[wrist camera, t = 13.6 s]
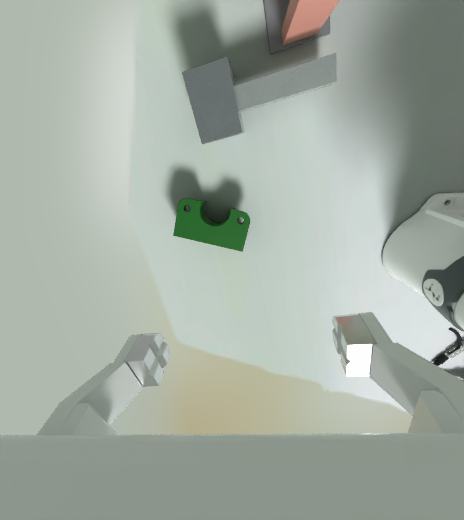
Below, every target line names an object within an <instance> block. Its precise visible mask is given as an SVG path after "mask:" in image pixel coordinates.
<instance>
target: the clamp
mask: <svg viewBox="0 0 464 520" xmlns="http://www.w3.org/2000/svg"><path fill="white" fill-rule="evenodd" d="M205 202H206V201H197V200H193V199H183V200H181V201H180V203H179V205H178V210H177V216H176V223H175V229H174V235H173V236H178V237H182V238H186V239H191V240H195V241H199V242H203V243H208V244H212V245H216V246H221V247H225V248H229V249H234V250H238V251H242V252H243V248H244V244H245V240H246V236H247V232H248V228H249V224H250V218H249V216H248V214H247V213H245V212H243V211H239V210H235V209H234V208H231V213H230V216H229V218H228V219H227V220H226V221H224V222H222V223H214V222H211V221H210V220H209V219H208V218H207V217H206V216H205V213H204V204H205ZM186 205H190V207H191V210H190V211H187V210H186ZM239 217H242V218H243V219H244V222H243V223H241V224H240V223H238V222H237V219H238V218H239Z"/></svg>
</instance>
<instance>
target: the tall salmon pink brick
mask: <svg viewBox="0 0 464 520" xmlns="http://www.w3.org/2000/svg"><path fill="white" fill-rule="evenodd" d="M338 2H339V0H290V2H289V6H288V9H287V13H286V16H285V20H284V23H283V27H282V40H283V45H286V44H289V43H292V42H294V41H297V40H300V39H303V38H306V37H309V36H312V35H315V34H317V33H318V32H319V30H320V29H321V27H322V26H323V24H324V23H325V21H326V20H327V18H328V17H329V15H330V14H331V12H332V11H333V9H334V8H335V6H336V5H337V3H338Z"/></svg>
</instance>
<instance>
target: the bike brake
mask: <svg viewBox="0 0 464 520" xmlns="http://www.w3.org/2000/svg"><path fill="white" fill-rule="evenodd" d="M449 330H451V331H452V332H454V333H455V334H456V335H457V338H458V344H457V345H455V346H454V347H452V348H450V349H449V350H447V351H446V353H447V354H446V355H445V354H444V355H442V356H441V357H439V358H437V360H436V361H434V363H433V364H434V365H436V366H439V365H440V364H443V362H445V360H448V359H449V357H450V358H453V357H455V356H456V355H458V354H459V353H461V352H463V351H464V350H461V349H463V348H464V341H462V339H461V336H460V334H459V333H458V332H457V331H456V330H454V329H453V328H450V329H449ZM461 346H462V347H461ZM460 347H461V348H460ZM453 348H455V349H453ZM449 351H451V352H449ZM458 351H459V353H456V352H458ZM453 354H455V355H454V356H452V355H453ZM448 356H449V357H448ZM460 380H461V379H460ZM462 381H463V380H462Z"/></svg>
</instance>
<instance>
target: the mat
mask: <svg viewBox="0 0 464 520" xmlns="http://www.w3.org/2000/svg"><path fill="white" fill-rule="evenodd" d="M289 2H290V0H264V8H265V16H266V24H267V32H268V40H269V48H270V54H273V53H276V52H278V51H281V50H284V49H287V48H290V47H293V46H296V45H299V44H302V43H305V42H308V41H310V40H313V39H316V38H319V37H322V36H325V35H328V34H330V15H329V17H328V18H327V20H326V21H325V23H324V24H323V26H322V27H321V29H320V30H319V32H318V33H317V34H315V35H312V36H309V37H306V38H303V39H300V40H297V41H294V42H292V43H289V44H286V45H283V40H282V27H283V23H284V20H285V16H286V13H287V9H288V6H289Z"/></svg>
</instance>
